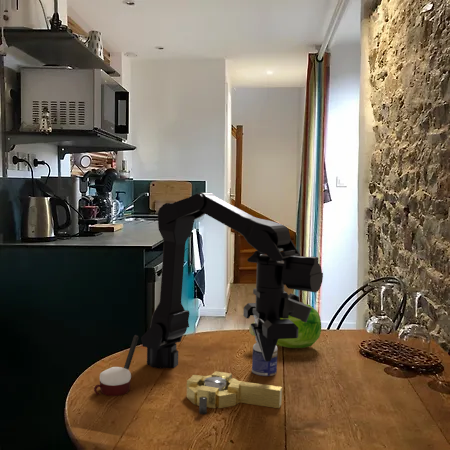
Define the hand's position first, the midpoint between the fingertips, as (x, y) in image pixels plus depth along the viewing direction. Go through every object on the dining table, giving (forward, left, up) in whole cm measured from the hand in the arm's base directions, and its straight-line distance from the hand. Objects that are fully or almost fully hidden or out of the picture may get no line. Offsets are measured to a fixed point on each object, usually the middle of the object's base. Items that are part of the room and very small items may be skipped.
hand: (267, 360), depth 109 cm
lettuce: (-3, +36, -9) cm, 38 cm away
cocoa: (-29, -10, -9) cm, 32 cm away
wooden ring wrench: (-5, -5, -7) cm, 10 cm away
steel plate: (-9, -6, -8) cm, 14 cm away
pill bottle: (-3, +12, -9) cm, 15 cm away
